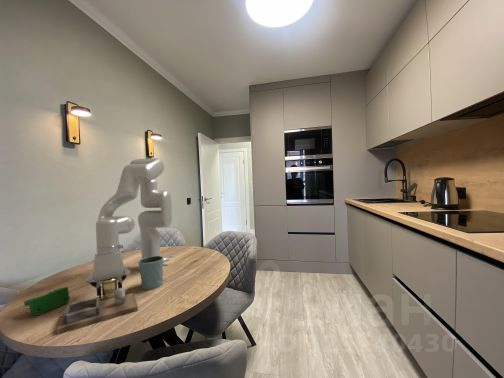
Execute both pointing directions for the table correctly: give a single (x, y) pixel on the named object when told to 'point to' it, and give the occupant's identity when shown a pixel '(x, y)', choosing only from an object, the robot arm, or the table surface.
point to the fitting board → (96, 310)
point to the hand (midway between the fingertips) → (109, 294)
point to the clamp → (48, 301)
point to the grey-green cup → (151, 272)
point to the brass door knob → (109, 288)
